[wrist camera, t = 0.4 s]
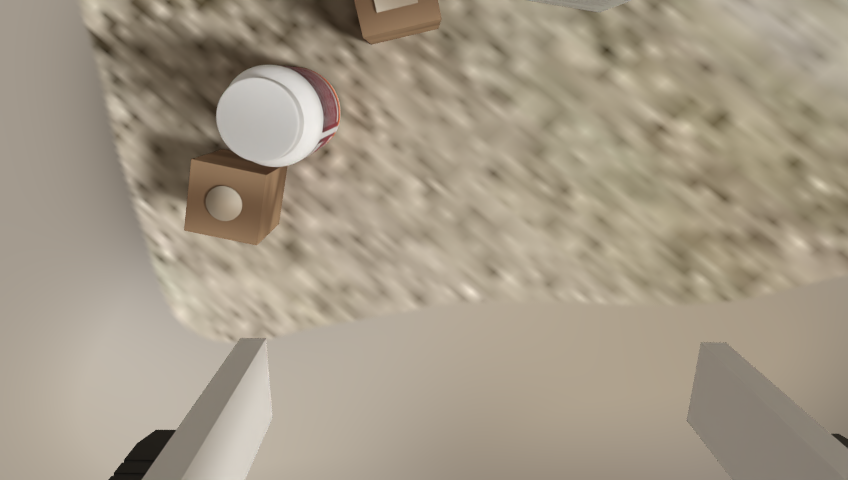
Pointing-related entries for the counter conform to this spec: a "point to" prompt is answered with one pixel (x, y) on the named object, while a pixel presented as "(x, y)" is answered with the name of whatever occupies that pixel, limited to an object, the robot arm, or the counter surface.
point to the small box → (585, 4)
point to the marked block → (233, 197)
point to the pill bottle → (277, 114)
